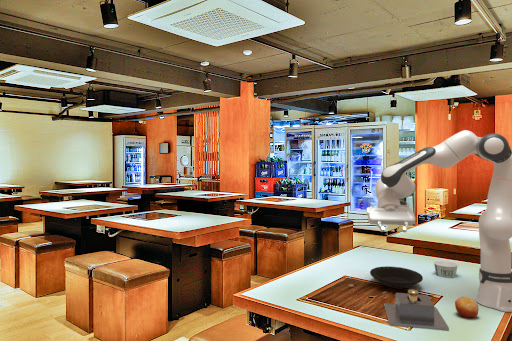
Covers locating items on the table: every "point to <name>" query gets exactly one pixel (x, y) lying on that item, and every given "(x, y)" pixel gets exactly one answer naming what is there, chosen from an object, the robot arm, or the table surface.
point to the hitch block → (414, 313)
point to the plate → (396, 277)
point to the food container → (445, 269)
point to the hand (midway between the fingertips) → (393, 231)
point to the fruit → (466, 307)
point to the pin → (413, 294)
